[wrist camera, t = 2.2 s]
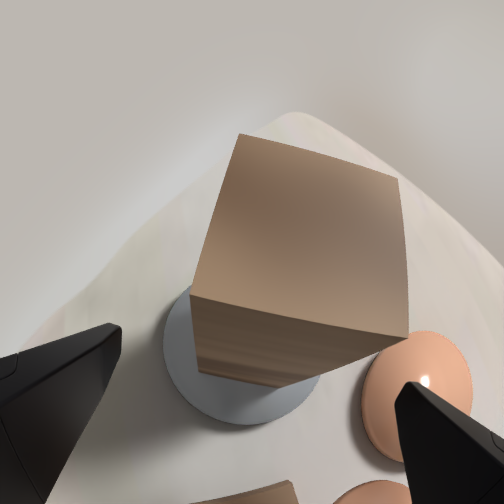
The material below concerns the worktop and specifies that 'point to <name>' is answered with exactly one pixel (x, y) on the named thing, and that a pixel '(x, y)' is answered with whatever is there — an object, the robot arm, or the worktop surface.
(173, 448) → the worktop surface
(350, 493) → the balance
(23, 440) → the robot arm
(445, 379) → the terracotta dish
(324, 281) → the walnut block
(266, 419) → the slate dish
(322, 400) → the worktop surface
